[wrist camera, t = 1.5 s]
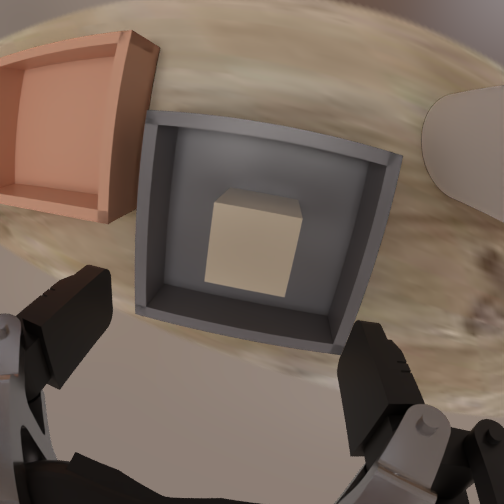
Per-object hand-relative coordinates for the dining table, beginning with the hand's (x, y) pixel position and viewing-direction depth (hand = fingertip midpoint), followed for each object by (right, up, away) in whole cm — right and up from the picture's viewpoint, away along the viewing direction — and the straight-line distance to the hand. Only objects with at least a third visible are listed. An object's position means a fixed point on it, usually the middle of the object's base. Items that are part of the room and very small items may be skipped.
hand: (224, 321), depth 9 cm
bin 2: (+1, +4, +12) cm, 13 cm away
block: (+1, +4, +11) cm, 12 cm away
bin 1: (-13, +12, +10) cm, 21 cm away
